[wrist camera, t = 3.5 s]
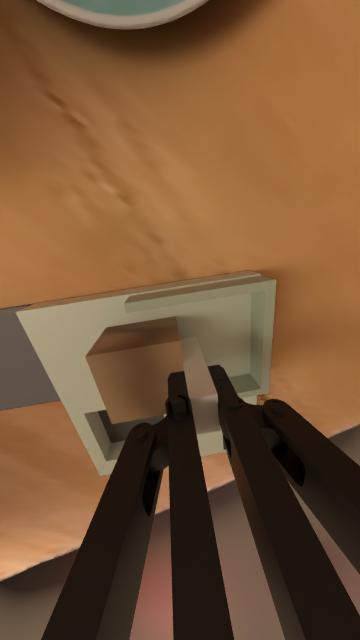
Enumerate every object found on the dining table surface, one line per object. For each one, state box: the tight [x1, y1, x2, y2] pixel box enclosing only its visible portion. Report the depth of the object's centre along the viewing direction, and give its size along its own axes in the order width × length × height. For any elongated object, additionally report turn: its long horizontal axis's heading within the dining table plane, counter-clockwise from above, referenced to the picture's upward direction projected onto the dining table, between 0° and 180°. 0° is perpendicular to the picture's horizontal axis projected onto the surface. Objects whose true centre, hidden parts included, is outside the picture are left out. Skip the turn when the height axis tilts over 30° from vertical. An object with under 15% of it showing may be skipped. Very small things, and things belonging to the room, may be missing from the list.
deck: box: [16, 271, 277, 476], centre depth 19 cm, size 20×22×5 cm
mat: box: [0, 305, 60, 411], centre depth 18 cm, size 9×11×1 cm
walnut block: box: [85, 316, 184, 424], centre depth 14 cm, size 6×6×4 cm
